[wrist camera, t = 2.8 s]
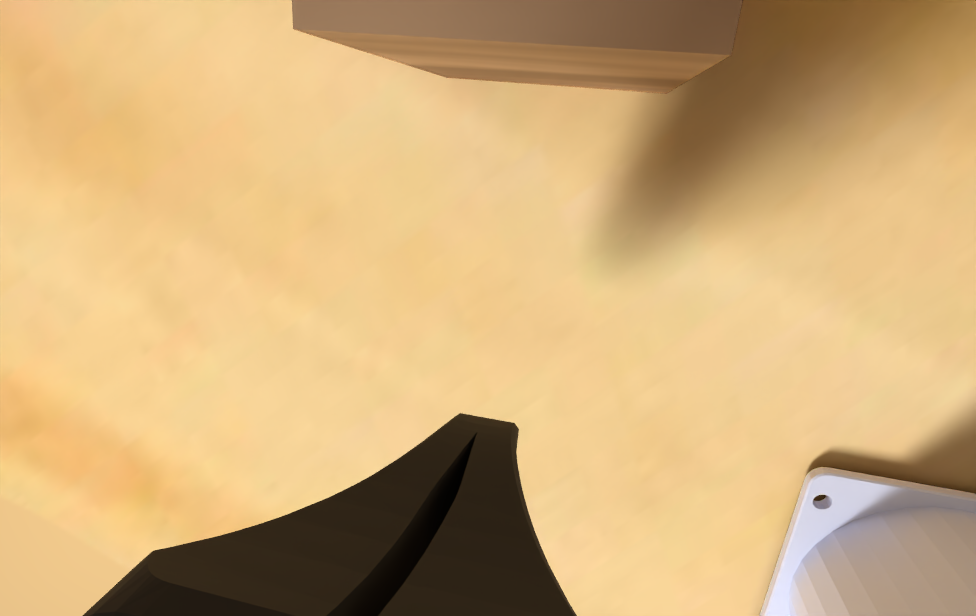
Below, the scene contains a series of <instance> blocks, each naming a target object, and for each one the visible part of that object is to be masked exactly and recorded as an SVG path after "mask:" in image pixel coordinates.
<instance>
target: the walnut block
mask: <svg viewBox="0 0 976 616" xmlns="http://www.w3.org/2000/svg"><path fill="white" fill-rule="evenodd" d="M742 2H743V0H292V11H293V29H294V30H298V31H301V32H304V33H307V34H310V35H313V36H317V37H320V38H323V39H326V40H329V41H332V42H336V43H339V44H342V45H345V46H348V47H351V48H355V49H358V50H361V51H364V52H367V53H370V54H374V55H377V56H380V57H383V58H386V59H389V60H393V61H396V62H399V63H402V64H405V65H409V66H412V67H415V68H418V69H421V70H424V71H428V72H431V73H434V74H437V75H440V76H443V77H447V78H459V79H473V80H486V81H500V82H514V83H528V84H541V85H555V86H569V87H583V88H597V89H610V90H624V91H638V92H652V93H665V94H666V93H668V92H670V91H671V90H673V89H675V88H677V87H678V86H680V85H682V84H683V83H685V82H687V81H688V80H690V79H692V78H694V77H695V76H697V75H699V74H700V73H702V72H704V71H705V70H707V69H709V68H710V67H712V66H714V65H716V64H717V63H719V62H721V61H722V60H724V59H726V58H727V57H729V56H731V54H732V49H733V44H734V40H735V35H736V30H737V25H738V21H739V16H740V11H741V6H742Z"/></svg>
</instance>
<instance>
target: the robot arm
mask: <svg viewBox="0 0 976 616" xmlns="http://www.w3.org/2000/svg"><path fill="white" fill-rule="evenodd" d="M518 431H519V429H518V427H517V426H516V425H515V423H511V422H505V421H500V420H494V419H489V418H483V417H478V416H472V415H467V414H461V413H460V414H458V415H457V416H456V417H454V418H453V419H451V420H450V421H449V422H447V423H446V424H445V425H444V426H442V427H441V428H440V429H438V430H437V431H436V432H435V433H433V434H432V435H431V436H429V437H428V438H427V439H425V440H424V441H423V442H421V443H420V444H419V445H417V446H416V447H414V448H413V449H412V450H410V451H409V452H407V453H406V454H405V455H403V456H402V457H400V458H399V459H397V460H396V461H394V462H393V463H391V464H389V465H388V466H386V467H385V468H383V469H382V470H380V471H378V472H377V473H375V474H374V475H372V476H370V477H368V478H367V479H365V480H363V481H361V482H359V483H357V484H356V485H354V486H351V487H349V488H347V489H345V490H343V491H341V492H339V493H337V494H335V495H333V496H331V497H329V498H327V499H324V500H322V501H319V502H317V503H315V504H312V505H310V506H307V507H305V508H302V509H300V510H297V511H295V512H292V513H290V514H288V515H285V516H282V517H279V518H276V519H273V520H270V521H267V522H264V523H262V524H259V525H255V526H252V527H249V528H245V529H242V530H239V531H235V532H232V533H228V534H225V535H221V536H217V537H213V538H209V539H204V540H200V541H196V542H191V543H187V544H183V545H178V546H174V547H170V548H165V549H160V550H155V551H153V552H151V553H150V554H149V555H148V556H147V557H146V558H144V559H143V560H142V561H141V562H140V563H139V564H138V565H137V566H136V567H135V568H133V569H132V570H131V571H130V572H129V573H128V574H127V575H126V576H125V577H124V578H123V579H122V580H121V581H119V582H118V583H117V584H116V585H115V586H114V587H113V588H112V589H111V590H110V591H109V592H108V593H107V594H105V595H104V596H103V597H102V598H101V599H100V600H99V601H98V602H97V603H96V604H95V605H94V606H93V607H91V608H90V609H89V610H88V611H87V612H86V613H85V614H84V615H83V616H577V615H576V614H575V612H574V610H573V609H572V607H571V606H570V604H569V602H568V600H567V598H566V597H565V595H564V593H563V591H562V589H561V587H560V585H559V583H558V581H557V580H556V578H555V576H554V574H553V572H552V570H551V568H550V566H549V564H548V562H547V560H546V557H545V555H544V553H543V551H542V548H541V546H540V544H539V541H538V538H537V536H536V533H535V531H534V528H533V525H532V522H531V519H530V516H529V513H528V509H527V506H526V502H525V499H524V495H523V491H522V487H521V482H520V476H519V471H518V465H517V455H516V449H517V440H518ZM818 495H827V496H826V497H825V499H823V500H821V501H814V500H813V499H814V498H815V497H816V496H818ZM759 616H976V494H975V493H970V492H964V491H959V490H953V489H947V488H942V487H936V486H930V485H925V484H919V483H914V482H908V481H902V480H897V479H891V478H886V477H880V476H874V475H869V474H863V473H857V472H852V471H846V470H841V469H835V468H829V467H819V468H815V469H813V470H811V471H810V472H809V473H808V474H807V475H806V477H805V479H804V483H803V486H802V489H801V492H800V495H799V498H798V501H797V504H796V507H795V510H794V513H793V516H792V519H791V522H790V525H789V528H788V531H787V534H786V537H785V540H784V543H783V546H782V549H781V552H780V555H779V558H778V561H777V564H776V567H775V570H774V573H773V576H772V579H771V582H770V585H769V588H768V591H767V594H766V597H765V600H764V603H763V606H762V609H761V612H760V615H759Z"/></svg>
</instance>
